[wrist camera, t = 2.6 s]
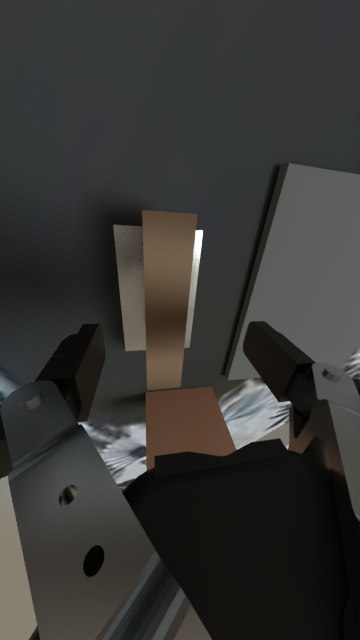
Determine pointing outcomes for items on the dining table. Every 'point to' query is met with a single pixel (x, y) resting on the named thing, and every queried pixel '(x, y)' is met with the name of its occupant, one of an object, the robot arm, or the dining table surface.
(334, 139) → the dining table surface
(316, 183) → the mat
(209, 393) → the tile
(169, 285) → the plastering trowel
